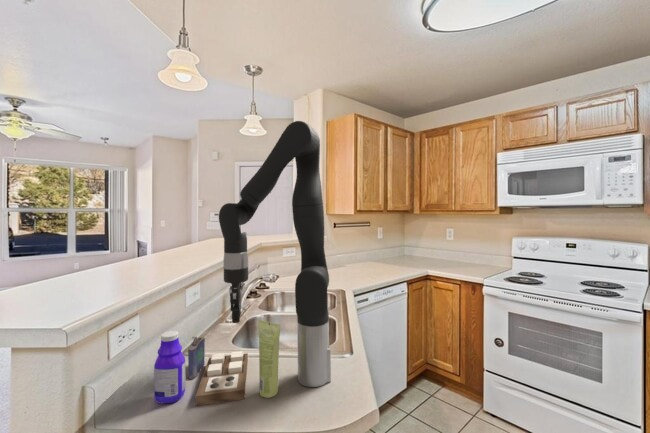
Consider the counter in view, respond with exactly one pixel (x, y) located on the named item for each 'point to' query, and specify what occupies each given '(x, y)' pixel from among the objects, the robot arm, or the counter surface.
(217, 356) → the button back outer
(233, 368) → the button front inner
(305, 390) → the counter surface
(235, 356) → the button back inner
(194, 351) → the flask
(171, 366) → the bottle
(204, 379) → the panel
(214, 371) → the button front outer
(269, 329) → the tube
